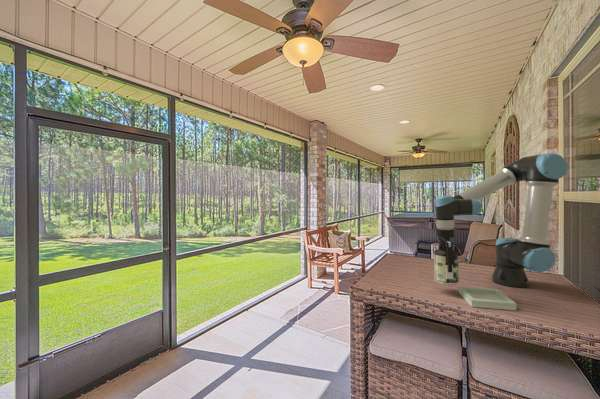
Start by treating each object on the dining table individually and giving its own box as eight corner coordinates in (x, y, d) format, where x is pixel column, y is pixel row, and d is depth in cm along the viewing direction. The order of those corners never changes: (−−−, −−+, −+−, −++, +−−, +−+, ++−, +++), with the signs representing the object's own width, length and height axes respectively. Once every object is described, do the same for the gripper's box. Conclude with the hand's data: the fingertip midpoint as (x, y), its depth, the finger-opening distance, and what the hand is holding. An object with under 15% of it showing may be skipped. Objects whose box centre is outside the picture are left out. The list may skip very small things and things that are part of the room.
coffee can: (459, 279, 132) (458, 250, 131) (458, 286, 123) (457, 254, 123) (435, 276, 137) (434, 248, 137) (433, 282, 128) (432, 253, 128)
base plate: (497, 295, 125) (497, 289, 125) (516, 310, 110) (516, 303, 109) (458, 292, 129) (458, 286, 129) (471, 306, 113) (471, 300, 113)
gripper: (431, 225, 141) (432, 268, 142) (443, 232, 119) (444, 282, 120) (446, 225, 139) (448, 268, 140) (462, 232, 117) (463, 283, 118)
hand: (446, 275), depth 130 cm, fingers closed on coffee can, 10 cm apart
